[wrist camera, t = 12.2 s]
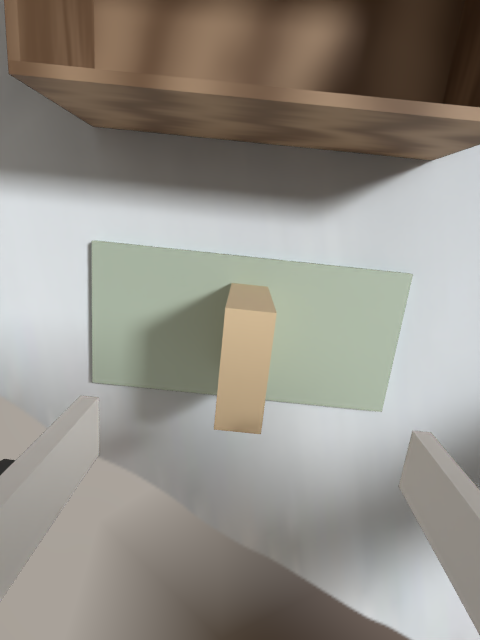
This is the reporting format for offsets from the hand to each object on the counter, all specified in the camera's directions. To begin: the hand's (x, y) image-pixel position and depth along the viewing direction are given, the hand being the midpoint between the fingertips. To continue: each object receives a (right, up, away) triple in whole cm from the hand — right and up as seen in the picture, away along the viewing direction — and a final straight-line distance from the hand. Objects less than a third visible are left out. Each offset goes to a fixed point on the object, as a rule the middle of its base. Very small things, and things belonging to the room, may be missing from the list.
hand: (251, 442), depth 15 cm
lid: (0, +4, +17) cm, 17 cm away
